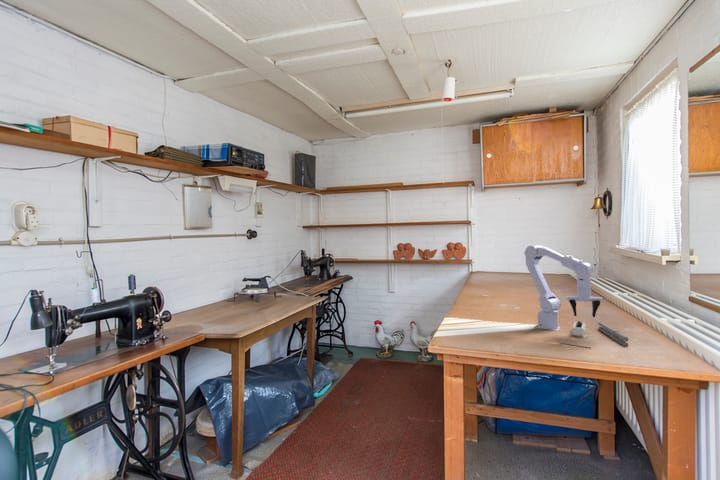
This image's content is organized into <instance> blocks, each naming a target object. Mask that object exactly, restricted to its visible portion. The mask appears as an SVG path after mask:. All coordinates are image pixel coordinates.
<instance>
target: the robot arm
mask: <svg viewBox="0 0 720 480" xmlns="http://www.w3.org/2000/svg"><path fill="white" fill-rule="evenodd" d="M524 250H525V251H524V252H523V253H524V256H525V266H526V267H527V270H528V272H529V273H530V276H531V278H532V281H533V283H534V285H535V287H536V290H537V292H538V293H539V298H538V301H539V306H540V310H538V312H537V328H538V329H545V330H553V331H559V330H560V328H561V326H559V309H560V308H561V306H562V303H561V300H560V299H559V298H558V297H557V296H556V294H555V293H553V292H552V291H551V289H550V287H549V285H548V283H547V281H546V279H545V276H544V275H543V272H542V270H541V267H540V265H539V263H540V260H541V259H542V258H543V257H549V258H550V259H553V260H555V261H557V262H559V263H561V266H563V267H565V268H567V269H569V270H570V271H573V272H574V273H575V274H576V293H577V294H576V295H567V296H566V301H569V302H568V303H569V304H570V305H571V308H572V312H573V316H574V317H577V301H578V302H591V305H592V317H593V318H595V317H596V314H597V311H598V309H599V308H600V306H601V303H603V297H601V296H592V274H591V273H593V272H594V266H593V265H592V264H591V263H589V262H587V261H583V260H582V259H578V258H576V257H574V256H573V255H568V254H567V255H562V254H561V253H558V252H557V251H555V250H553V249H551V248H549V247H548V246H545V245H541V244H538V245H528V246H527V247H526V248H525V249H524Z"/></svg>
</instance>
